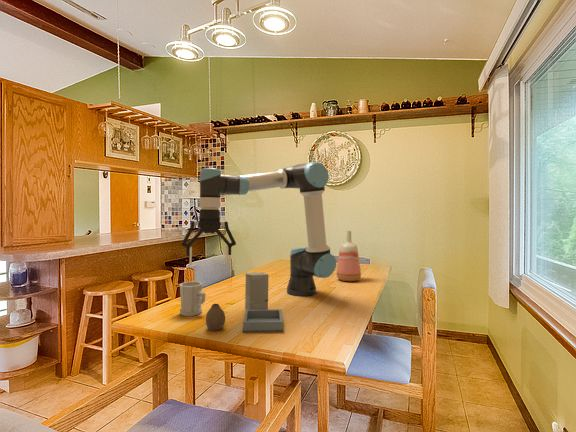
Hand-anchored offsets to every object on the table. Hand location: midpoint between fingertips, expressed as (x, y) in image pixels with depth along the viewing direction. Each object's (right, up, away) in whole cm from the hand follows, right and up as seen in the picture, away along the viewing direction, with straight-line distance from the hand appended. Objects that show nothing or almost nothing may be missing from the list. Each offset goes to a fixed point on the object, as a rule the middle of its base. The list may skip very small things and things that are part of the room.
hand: (208, 264), depth 127 cm
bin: (+21, -22, -4) cm, 31 cm away
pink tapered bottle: (+67, -20, +72) cm, 100 cm away
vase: (+4, -22, -9) cm, 24 cm away
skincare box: (+17, -22, +12) cm, 30 cm away
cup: (-9, -22, +9) cm, 25 cm away
